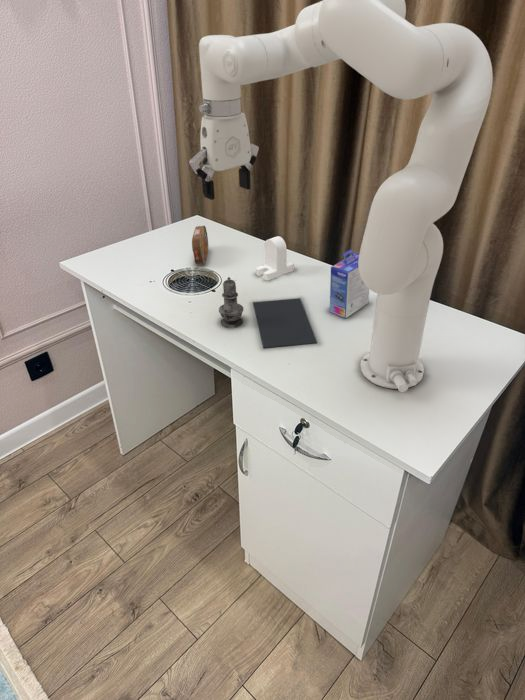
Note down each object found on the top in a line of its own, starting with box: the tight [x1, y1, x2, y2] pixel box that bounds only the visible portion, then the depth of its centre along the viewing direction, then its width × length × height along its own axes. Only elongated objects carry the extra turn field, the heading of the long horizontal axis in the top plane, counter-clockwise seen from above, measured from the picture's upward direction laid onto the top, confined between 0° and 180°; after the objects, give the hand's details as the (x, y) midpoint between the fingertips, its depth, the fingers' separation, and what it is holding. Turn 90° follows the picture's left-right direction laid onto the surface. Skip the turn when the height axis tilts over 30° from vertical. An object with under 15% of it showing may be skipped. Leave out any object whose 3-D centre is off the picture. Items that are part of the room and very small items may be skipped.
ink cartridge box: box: [329, 248, 370, 319], centre depth 121 cm, size 10×6×14 cm, turn 137°
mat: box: [252, 297, 318, 349], centre depth 121 cm, size 20×12×1 cm, turn 7°
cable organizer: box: [255, 235, 295, 281], centre depth 139 cm, size 5×10×10 cm, turn 128°
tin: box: [191, 225, 209, 265], centre depth 148 cm, size 15×3×8 cm, turn 179°
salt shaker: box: [218, 276, 245, 329], centre depth 118 cm, size 6×6×12 cm
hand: (227, 192), depth 112 cm, fingers open, 9 cm apart
